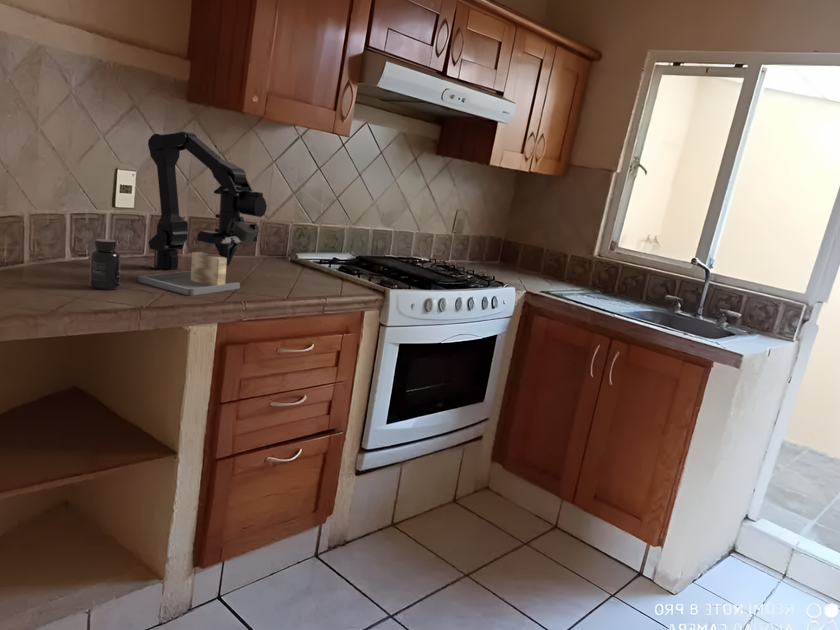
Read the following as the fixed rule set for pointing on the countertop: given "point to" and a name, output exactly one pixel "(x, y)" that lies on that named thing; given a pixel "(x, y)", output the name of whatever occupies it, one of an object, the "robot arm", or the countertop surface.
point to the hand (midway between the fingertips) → (226, 265)
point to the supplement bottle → (105, 265)
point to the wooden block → (208, 268)
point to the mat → (184, 283)
